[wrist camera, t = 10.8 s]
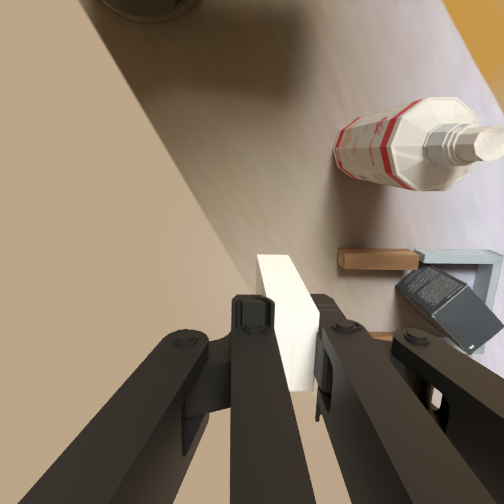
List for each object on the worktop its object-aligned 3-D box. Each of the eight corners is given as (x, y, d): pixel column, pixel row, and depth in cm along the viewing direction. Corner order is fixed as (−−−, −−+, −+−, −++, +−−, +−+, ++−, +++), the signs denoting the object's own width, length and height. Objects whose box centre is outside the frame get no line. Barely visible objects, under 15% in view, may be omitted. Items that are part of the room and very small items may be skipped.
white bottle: (395, 168, 49) (555, 182, 24) (342, 186, 49) (448, 218, 25) (382, 108, 47) (542, 60, 22) (327, 128, 47) (426, 101, 23)
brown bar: (338, 248, 51) (345, 254, 48) (407, 248, 52) (419, 255, 48) (329, 344, 55) (336, 356, 52) (394, 343, 55) (404, 356, 52)
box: (455, 294, 54) (506, 327, 44) (425, 319, 55) (469, 357, 45) (423, 258, 52) (469, 284, 42) (393, 285, 53) (431, 316, 43)
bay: (414, 249, 52) (425, 254, 49) (488, 249, 52) (503, 255, 49) (400, 343, 56) (409, 354, 53) (470, 343, 56) (482, 354, 53)
